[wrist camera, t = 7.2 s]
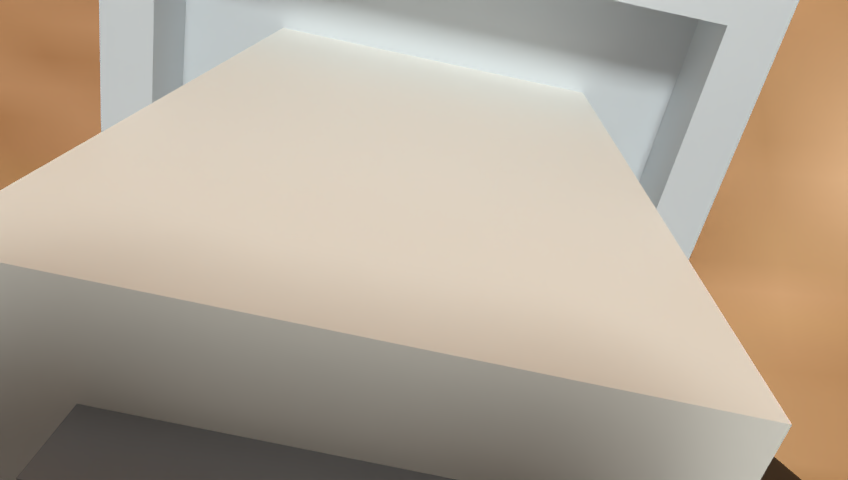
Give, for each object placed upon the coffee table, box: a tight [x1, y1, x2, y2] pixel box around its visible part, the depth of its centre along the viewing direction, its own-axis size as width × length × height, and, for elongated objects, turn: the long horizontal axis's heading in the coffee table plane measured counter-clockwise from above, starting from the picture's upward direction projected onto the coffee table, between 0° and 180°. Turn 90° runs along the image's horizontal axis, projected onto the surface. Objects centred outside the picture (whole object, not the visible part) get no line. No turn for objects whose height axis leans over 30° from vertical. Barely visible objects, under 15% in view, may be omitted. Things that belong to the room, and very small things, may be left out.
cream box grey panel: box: [0, 28, 792, 480], centre depth 9 cm, size 5×7×9 cm
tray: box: [99, 0, 799, 260], centre depth 12 cm, size 10×12×2 cm
